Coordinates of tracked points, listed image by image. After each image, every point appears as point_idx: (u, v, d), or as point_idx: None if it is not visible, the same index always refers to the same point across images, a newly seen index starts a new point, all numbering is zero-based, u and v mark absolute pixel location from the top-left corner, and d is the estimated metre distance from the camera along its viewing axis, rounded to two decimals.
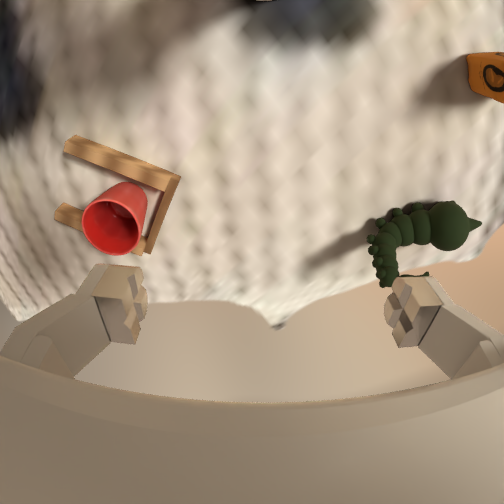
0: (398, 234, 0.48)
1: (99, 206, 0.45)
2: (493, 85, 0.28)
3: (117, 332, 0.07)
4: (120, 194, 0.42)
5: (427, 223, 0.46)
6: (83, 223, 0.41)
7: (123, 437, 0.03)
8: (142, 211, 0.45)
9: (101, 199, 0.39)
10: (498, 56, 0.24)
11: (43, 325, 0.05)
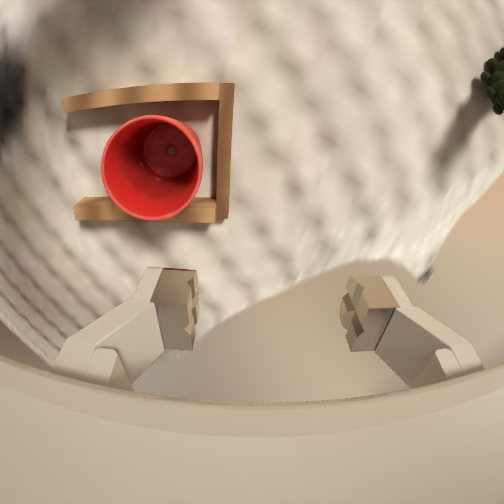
0: None
1: (129, 163, 0.31)
2: None
3: (174, 338, 0.07)
4: None
5: None
6: (106, 181, 0.27)
7: (123, 437, 0.03)
8: (194, 133, 0.28)
9: (123, 125, 0.24)
10: None
11: (101, 336, 0.06)
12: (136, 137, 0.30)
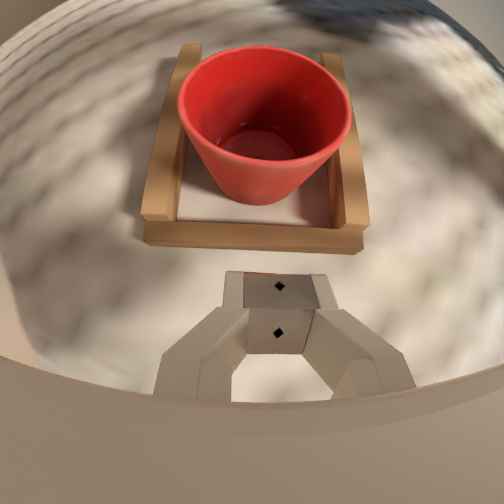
0: None
1: (254, 100, 0.22)
2: None
3: (259, 343, 0.08)
4: None
5: None
6: (251, 49, 0.17)
7: (123, 437, 0.03)
8: (305, 177, 0.19)
9: None
10: None
11: (203, 347, 0.06)
12: (288, 114, 0.22)
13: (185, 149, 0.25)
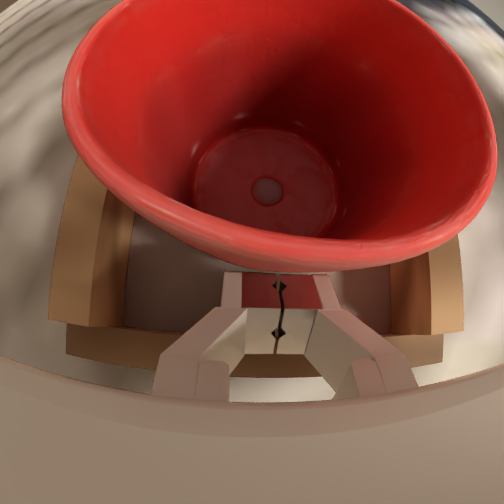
0: None
1: (262, 71, 0.11)
2: None
3: (257, 343, 0.08)
4: None
5: None
6: None
7: (123, 437, 0.03)
8: None
9: None
10: None
11: (201, 347, 0.06)
12: (325, 99, 0.12)
13: None
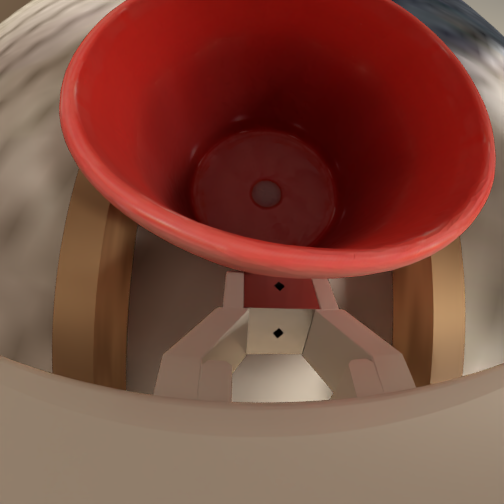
0: None
1: (261, 73, 0.11)
2: None
3: (259, 343, 0.08)
4: None
5: None
6: None
7: (123, 437, 0.03)
8: None
9: None
10: None
11: (204, 347, 0.06)
12: (323, 101, 0.12)
13: None
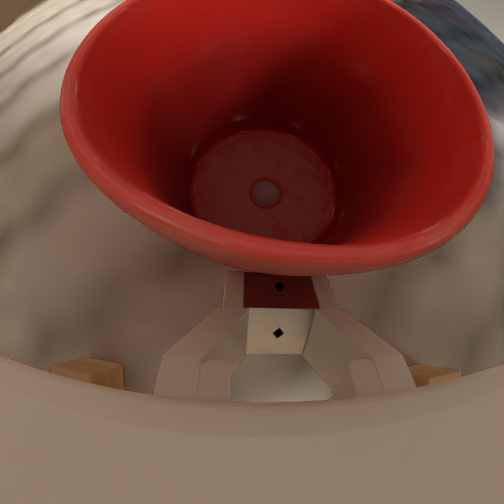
0: None
1: (260, 73, 0.11)
2: None
3: (259, 343, 0.08)
4: None
5: None
6: None
7: (123, 437, 0.03)
8: None
9: (427, 32, 0.06)
10: None
11: (204, 347, 0.06)
12: (323, 101, 0.12)
13: None
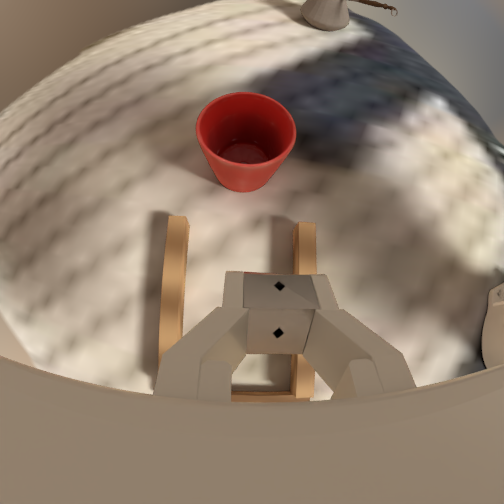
0: None
1: (241, 124, 0.35)
2: None
3: (259, 343, 0.08)
4: None
5: None
6: (238, 94, 0.30)
7: (123, 437, 0.03)
8: (269, 173, 0.32)
9: None
10: None
11: (204, 347, 0.06)
12: (263, 133, 0.36)
13: (182, 327, 0.33)
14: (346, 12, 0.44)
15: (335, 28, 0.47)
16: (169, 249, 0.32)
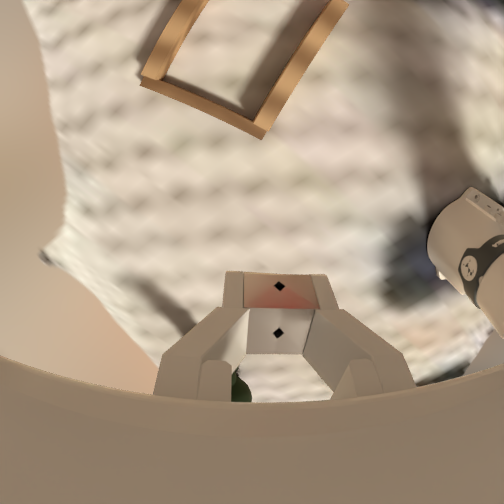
0: None
1: None
2: None
3: (259, 343, 0.08)
4: None
5: None
6: None
7: (123, 437, 0.03)
8: None
9: None
10: None
11: (204, 347, 0.06)
12: None
13: (189, 30, 0.27)
14: None
15: None
16: None
